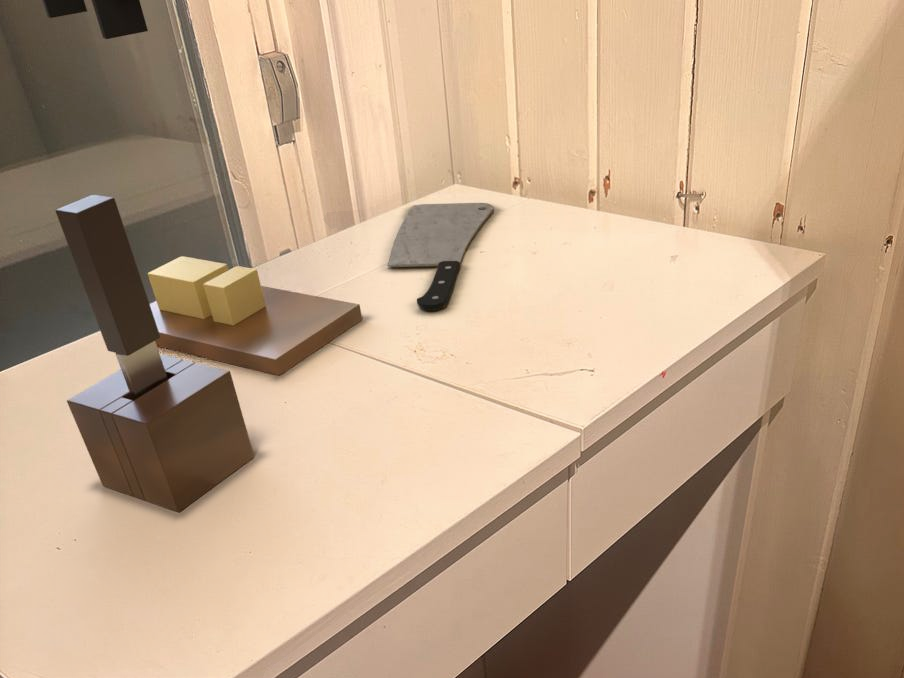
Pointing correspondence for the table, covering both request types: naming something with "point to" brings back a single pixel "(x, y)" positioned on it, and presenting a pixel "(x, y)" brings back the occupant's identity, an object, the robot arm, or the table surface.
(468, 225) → the cleaver
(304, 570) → the table surface
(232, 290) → the block
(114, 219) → the knife
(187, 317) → the board
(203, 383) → the knife block
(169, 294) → the butter block
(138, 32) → the robot arm
